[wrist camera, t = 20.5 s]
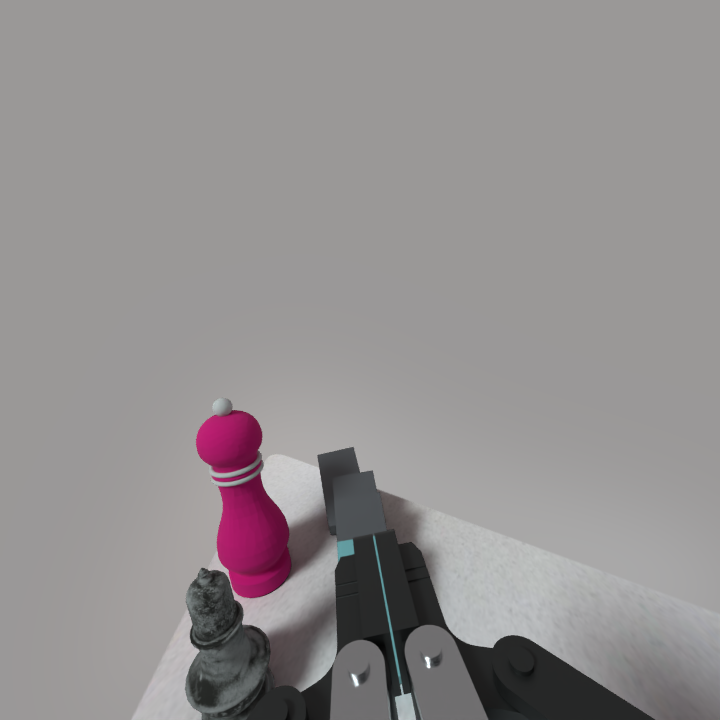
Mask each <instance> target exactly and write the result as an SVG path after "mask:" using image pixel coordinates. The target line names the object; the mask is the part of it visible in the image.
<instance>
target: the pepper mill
mask: <svg viewBox="0 0 720 720" xmlns="http://www.w3.org/2000/svg"><path fill="white" fill-rule="evenodd" d="M212 408H213V412H214V414H216V415H214V416H212V417H211V418H209V419H208V420H206V421H205V422H204V424H203V425H202V426H201V428H200V429H199V431H198V434H197V439H196V446H197V451H198V454H199V456H200V458H201V459H202V460H203V461H204V462H206V463H208V464H209V465H210V467H209V473H210V474H211V481H212V483H213V484H215V485H217V486H218V487H219V490H220V492H221V496H222V501H223V513H222V518H221V522H220V525H219V530H218V536H217V550H218V556H219V559H220V561H221V563H222V565H223V566H224V567H226V568H227V569H228V570H229V576H230V580H231V584H232V587H233V590H234V591H235V592H236V593H237V594H238V595H240V596H242V597H247V598H255V597H260V596H263V595H266V594H268V593H270V592H272V591H274V590H275V589H276V588H278V587H279V586H280V585H281V584H282V583H283V582H284V581H285V579H286V578H287V577H288V574H289V572H290V569H291V559H290V554H289V550H288V547H287V543H288V540H289V528H288V524H287V521H286V519H285V516H284V515H283V513H282V511H281V510H280V509H279V507H278V506H277V505H276V504H275V503H274V502H273V501H272V499H271V498H270V497H269V496H268V495H267V493H266V491H265V489H264V487H263V484H262V481H261V473H260V472H261V471H262V469H263V466H264V464H263V461H262V460H261V459H262V455H261V453H260V452H259V451H258V449H259V447H260V445H261V442H262V431H261V428H260V425H259V423H258V421H257V420H256V419H255V418H254V417H253V416H252V415H250V414H249V413H246V412H243V411H237V410H232V403H231V401H230V400H228V399H226V398H220V399H217V400H216V401H215V402H214V404H213V407H212Z"/></svg>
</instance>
